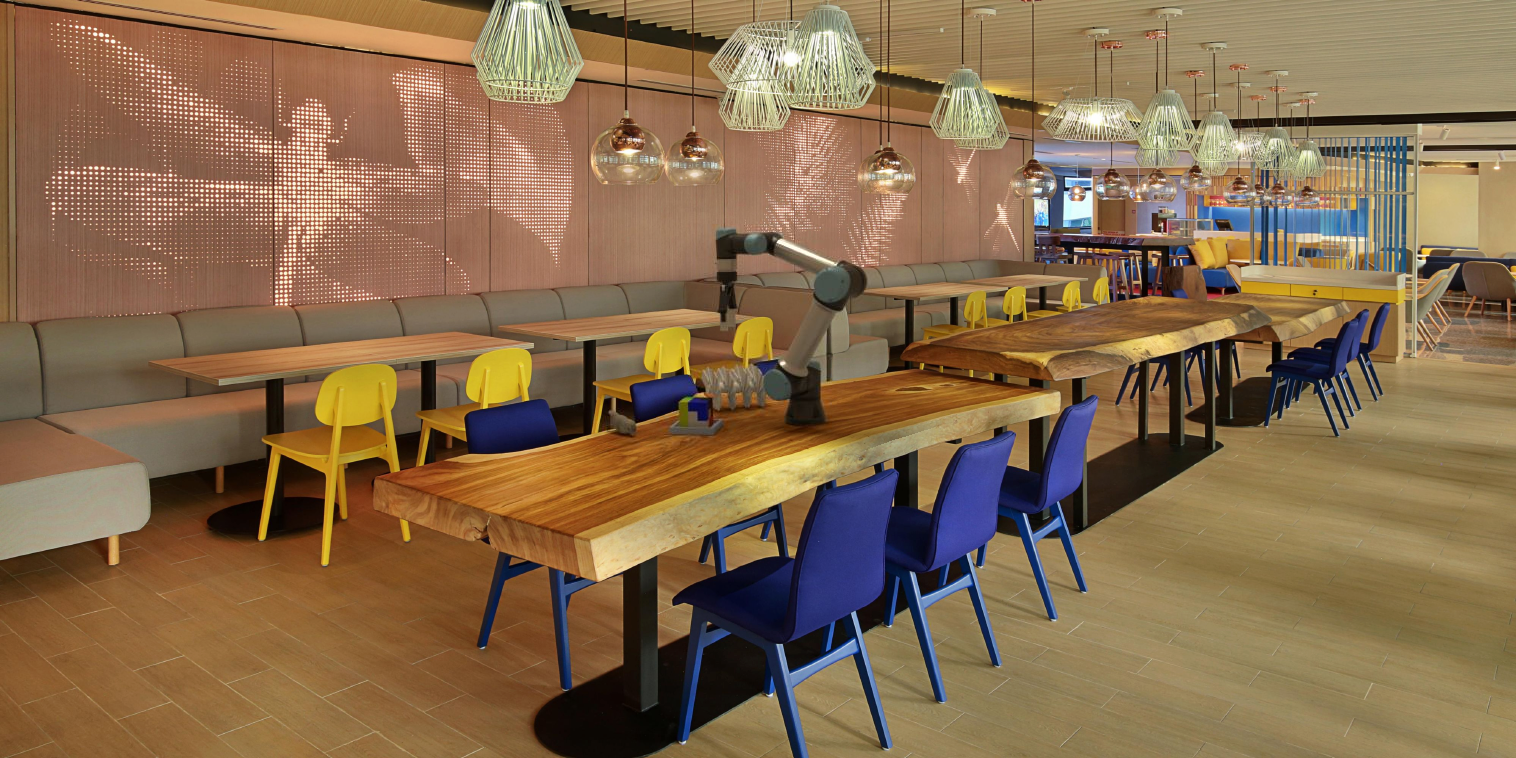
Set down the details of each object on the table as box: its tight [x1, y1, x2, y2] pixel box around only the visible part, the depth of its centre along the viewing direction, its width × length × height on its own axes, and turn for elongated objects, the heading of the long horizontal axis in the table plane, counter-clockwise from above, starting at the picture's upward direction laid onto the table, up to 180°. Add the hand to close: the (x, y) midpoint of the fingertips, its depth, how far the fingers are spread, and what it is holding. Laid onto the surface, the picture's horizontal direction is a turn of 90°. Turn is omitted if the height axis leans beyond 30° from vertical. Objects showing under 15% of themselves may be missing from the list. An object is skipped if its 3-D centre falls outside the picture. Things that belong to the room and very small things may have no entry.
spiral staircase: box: [701, 363, 767, 412], centre depth 406 cm, size 18×18×25 cm
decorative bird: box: [606, 409, 638, 438], centre depth 366 cm, size 5×16×8 cm, turn 39°
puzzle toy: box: [678, 396, 714, 428], centre depth 369 cm, size 10×10×10 cm
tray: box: [668, 418, 724, 436], centre depth 370 cm, size 16×16×2 cm
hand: (728, 328), depth 379 cm, fingers open, 13 cm apart
